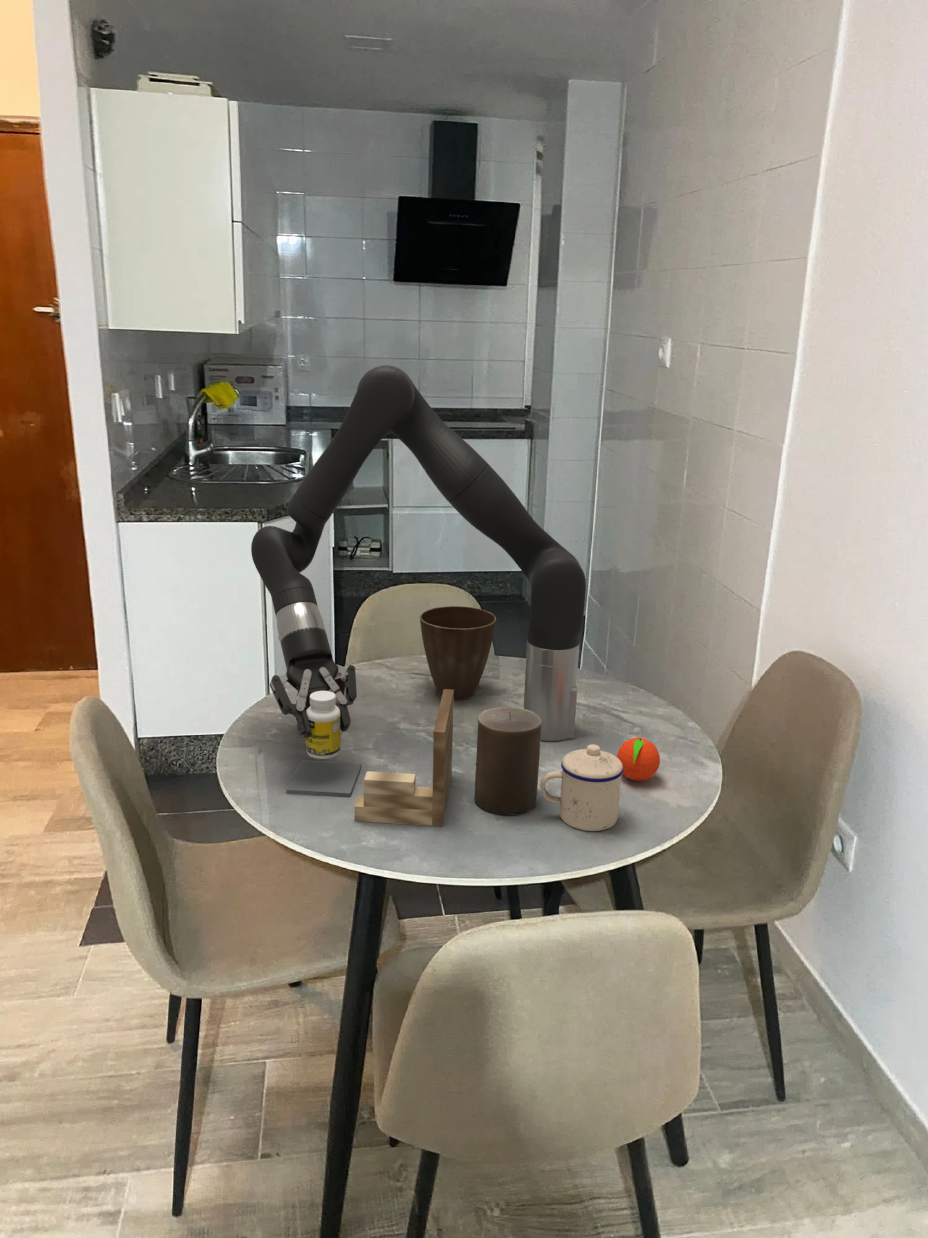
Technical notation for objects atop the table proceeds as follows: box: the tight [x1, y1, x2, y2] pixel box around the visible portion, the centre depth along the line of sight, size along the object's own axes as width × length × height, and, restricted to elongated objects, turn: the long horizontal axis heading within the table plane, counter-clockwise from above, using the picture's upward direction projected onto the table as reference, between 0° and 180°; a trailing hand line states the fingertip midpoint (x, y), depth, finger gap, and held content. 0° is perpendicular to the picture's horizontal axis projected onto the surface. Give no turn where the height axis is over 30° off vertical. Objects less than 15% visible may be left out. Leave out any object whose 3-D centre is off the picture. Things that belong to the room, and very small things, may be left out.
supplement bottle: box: [305, 691, 342, 760], centre depth 141 cm, size 5×5×10 cm
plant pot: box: [419, 605, 497, 701], centre depth 177 cm, size 15×15×16 cm
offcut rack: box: [354, 689, 455, 827], centre depth 137 cm, size 13×16×15 cm
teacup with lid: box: [539, 744, 623, 832], centre depth 133 cm, size 12×9×12 cm
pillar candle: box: [474, 706, 542, 816], centre depth 137 cm, size 10×10×15 cm
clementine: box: [616, 737, 661, 782], centre depth 146 cm, size 8×7×7 cm
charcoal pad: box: [285, 760, 363, 798], centre depth 144 cm, size 10×10×1 cm
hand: (326, 732), depth 140 cm, fingers closed on supplement bottle, 5 cm apart
